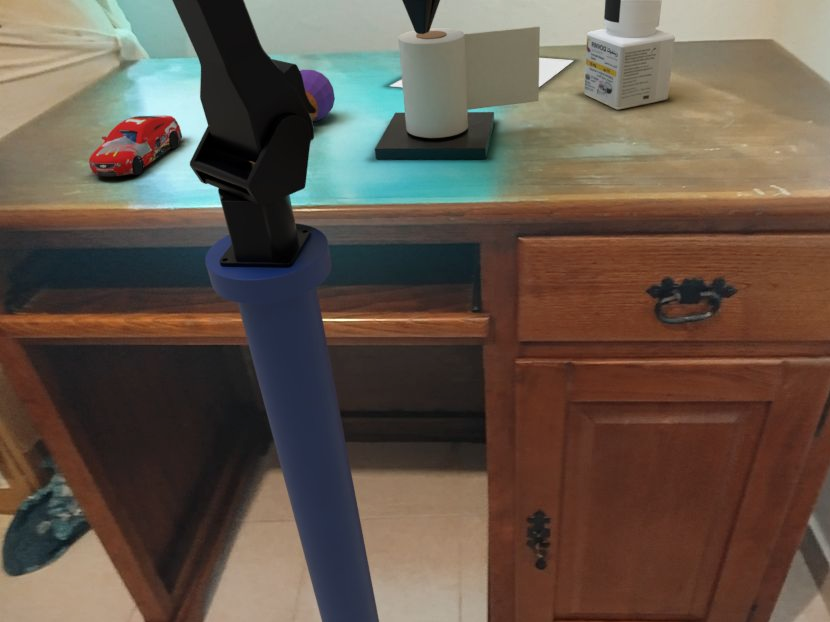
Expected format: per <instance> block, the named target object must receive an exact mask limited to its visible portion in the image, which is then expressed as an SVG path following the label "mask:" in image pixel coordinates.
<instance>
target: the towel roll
mask: <svg viewBox="0 0 830 622" xmlns="http://www.w3.org/2000/svg"><path fill="white" fill-rule="evenodd" d="M540 37H541V26H540V25H535V26H534V25H533V26H526V27H525V26H524V27H515V28H506V29H498V30H487V31H477V32H469V33H468V32H467V33H464V32H463V31H462V30H460V29H455V28H449V27H431V28H430V31H429V32H428V33H425V34H418V33H416V32H415V30H414V29H413V30H409V31H406V32H403V33H401V34H399V35H398V37H397V40H398V51H399V52H398V53H399V62H400V73H401V74H400V75H401V79H402V86H403V88H402V95H403V96H402V97H403V106H404V113H405V120H406V130H407V132H408V133H410V134H411V135H414V136H417V137H423V138H443V137H449V136H454V135H457V134H460V133H462V132H464V131H465V130H466V129H467V128H468V112H469V111H470V110H477V109H478V110H479V109H485V108H493V107H502V106H503V107H504V106H510V105H518V104H526V103H534V102H539V100H540V98H539V97H540V94H539V93H540V87H539V58H540V46H541V45H540V40H541V39H540Z"/></svg>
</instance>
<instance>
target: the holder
mask: <svg viewBox="0 0 830 622" xmlns="http://www.w3.org/2000/svg"><path fill="white" fill-rule="evenodd" d="M392 116H393V117H391V119H390V121H389V122H388V124H387V127H386V128H385V130H384V132H383V133H382V135H381V137H380V139H379V140H378V142H377V144H376V146H374V147H375V148H374V155H375V159H376V160H486V159H487V156H488V152H489V147H490V143H491V142H490V141H491V138H492V133H493V129H494V124H495V112H494V111H468V128H467V129H466V130H465V131H464V132H462V133H460V134H457V135H454V136H449V137H443V138H423V137H417V136H414V135H411V134H410V133H408V132H407V130H406V120H405V112H395V113H394V114H393V115H392Z"/></svg>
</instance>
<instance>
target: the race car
mask: <svg viewBox="0 0 830 622" xmlns="http://www.w3.org/2000/svg"><path fill="white" fill-rule="evenodd" d="M182 138H183V134H182V131H181V127H180V125H179V123H178V121H177V119H176V118H175V117H173V116H172V115H138V116H137V115H136V116H132V117H129V118H127V119H124V120H122V121H121V122H120V123H118V124H116V126H114V128H112V129H111V131H110V132H109V133H108V135H107V136H105V135H103V136H101V139H102V140H103V143H102V144H101V145H100V146H99V147H98V148H97V149H96V150H94V151H93V152H92V154H91V155H90V156H89V159H88V164H89V168H90V170H91V173H93V174H94V175H95V176H100V177H121V176H126V175H133V176H140V175H142V173H143V172H144V167H147V166H148V165H150V164H151V163H152V162H154V161H155V160H157V159H158V158H160V157H161V156H162V155H164V154H165V153H166V152H168V151H169V150H175V149H177V148H178V147H179V143H180V141H181V140H182Z"/></svg>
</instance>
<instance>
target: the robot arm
mask: <svg viewBox="0 0 830 622" xmlns="http://www.w3.org/2000/svg"><path fill="white" fill-rule="evenodd" d="M171 1H172V3H173V5H174V7H175V9H176V12H177V15H178V17H179V18H180V21H181V23H182V25H183V27H184V29H185V31H186V34H187V36H188V38H189V41H190V43H191V46H192V47H193V49H194V52H195V54H196V56H197V58H198V62H199V65H200V81H199V85H200V86H199V87H200V88H199V100H200V104H201V107H202V110H203V114H204V116H205V120H206V124H207V127H206V129H205V130H204V132H203V135H202V136H201V138H200V141H199V143H198V144H197V147H196V149H195V151H194V153H193V154H192V157H191V159H190V161H189V166H190V169H191V170H192V171H193V173H194V174H195V176H196V177H197V178H198V180H199V182H201V184H204V185H209V186H212V187H215V188H217V192H218V196H219V200H220V204H221V209H222V213H223V216H224V220H225V224H226V227H227V228H226V229H227V232H228V235H229V236H230V240H231V243H232V244H231V246H230V247H229V248H228V250H227V251H226V252H225V253H224V255H223V256H222V257H221V259H220V260H219V262H220V265H221V266H222V267H263V268H289V267H292V266H293V265H294V263H295V261H296V260H297V258H298V256H299V255H300V253H301V251H302V250H303V248H304V246H305V245H306V243H307V241H308V240H309V238H310V237H311V231H310V230H309V229H296V225H295V223H296V221H295V220H296V219H295V215H294V210H293V205H292V201H291V195H293V194H295V193H297V192H300V191H302V190H304V189H305V188H306V185H307V177H308V166H309V158H310V157H309V156H310V147H311V143H312V141H313V140H314V138H315V127H314V121H312V118H311V116H310V113H316V109H315V108H314V107H313V106H312V104H311V103H310V101H309V99H308V97H307V95H306V92H305V88H304V83H303V78H302V75H301V73H300V68H299V66H298V65H297V64H296V63H291V62H287V61H283V60H278V59H274V58H271V56H269V55H268V53H267V52H266V51H265V49H264V48H263V46H262V44H261V42H260V39H259V36H258V33H257V31H256V28H255V25H254V23H253V20H252V18H251V15H250V13H249V10H248V7H247V5H246V2H245V0H171ZM401 2H402V3H403V5H404V9H405V10H406V13H407V15H408V17H409V20H410V23H411V26H412V27H413V30H415V32H416V33H418V34H425V33H428V32H429V31H430V28H432V25H433V22H434V19H435V17H436V13H437V11H438V8H439V4H440V2H441V0H401ZM250 161H252V162H254V163H252V162H250Z"/></svg>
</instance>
